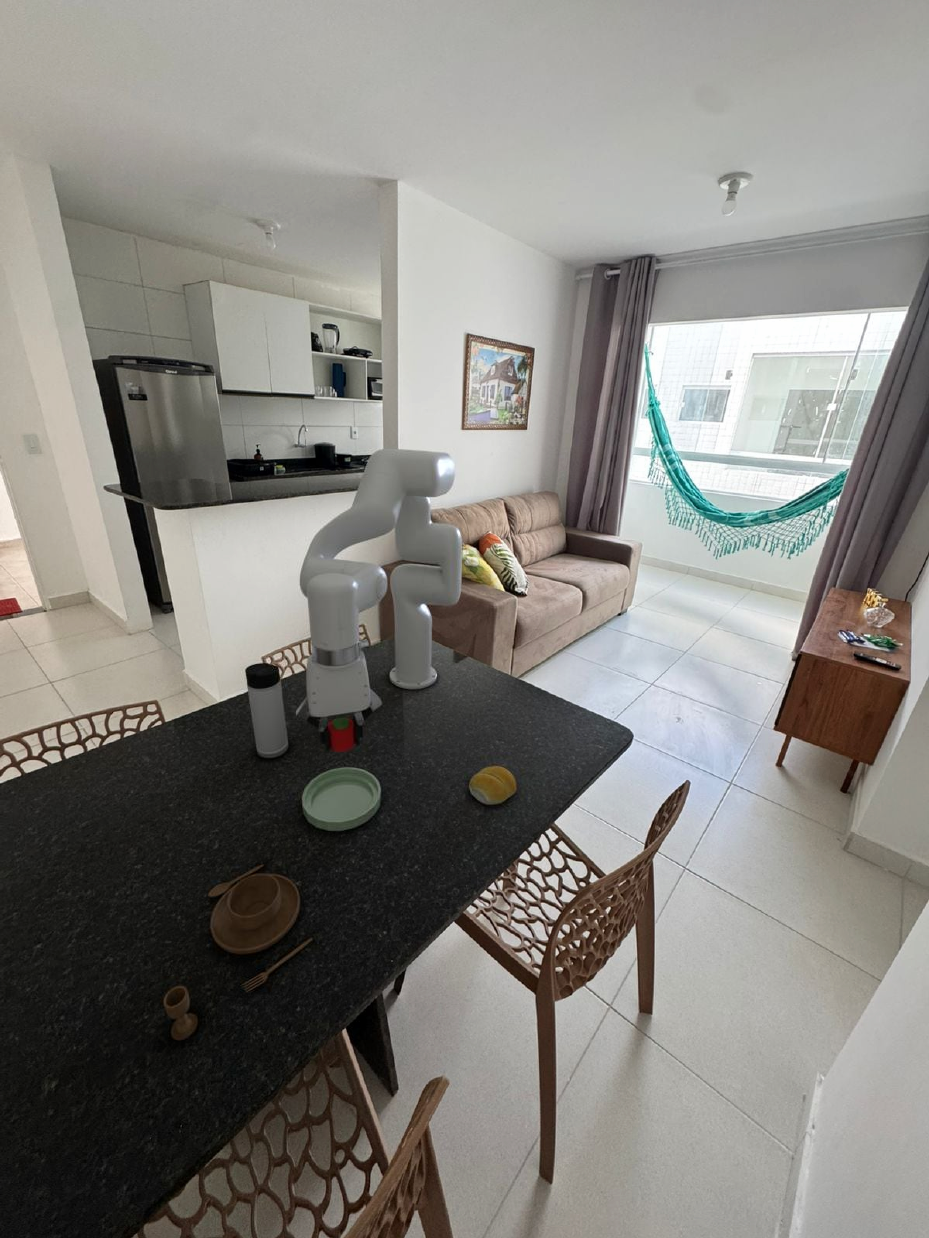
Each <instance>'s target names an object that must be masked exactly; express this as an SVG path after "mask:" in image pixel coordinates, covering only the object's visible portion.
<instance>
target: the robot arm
mask: <svg viewBox="0 0 929 1238" xmlns="http://www.w3.org/2000/svg"><path fill="white" fill-rule="evenodd" d="M455 477H456V467H455V462H454V460H453V458H452V457H451V455H450V454H449V453H447V452H443V451H430V450H416V449H403V448H383V449H377V450H376V451H375V452H373V453H372V454H371V455H370V456H369V458H368V460H367V462H366V466H365V468H364V471H363V474H362V476H361V479H360V482H359V485H358V488H357V490H356V493H355V496H354V499H353V501H352V505H351V506H350V508H348V509H346V510H344V511H343V512H341V513H340V514H339V515H337V516H335V517H334V518H332V520H329V522H328V523H326V524H325V525H324V526H323V527H322V528H320V529H319V530H318V532H316V534H315V535H314V536H313V538H312V540H311V542H310V544H309V546H308V549H307V552H306V554H305V557H304V559H303V563H302V565H301V568H300V574H299V587H300V590H301V594H302V595H303V597H305V598H306V599H307V609H308V619H309V633H310V645H311V654H310V655H309V656H307V661H306V668H305V669H306V671H305V686H306V689H305V690H306V696H305V698H304V699H303V700H302V702H301V703H300V705H299V706H298V708H297V709H296V711H295V716H296V719H298V720H301V721H304V722H307V723H308V724H309V725H311V726H312V727H314V728H316V729H317V731H318V732H319V739H320V745H324V747H325V751H326V752H327V751H330V750H331V748H330V738H329V729H328V724H329V723H328V719H329V717H330V716H337V715H344V714H351V713H353V715H354V716H352V718H351V720H352V721H353V723H354V735H355V745H354V746H360V744H361V741H360V740H361V739H362V738H363V737H364V731H363V730H364V729H363V725H364V724H365V721H366V720H367V719H368V718H369V717H370V716H371V715H372V714H373V712H374V711H376V710H377V709H378V708H380V707H381V706H382V705H383V702H382V700H381V697H380V696H378V695H377V694H376V692H375V691H373V690H372V688H371V687H370V679H369V672H368V668H367V667H368V666H367V661H366V657H365V653H364V651H363V650H365V649H369V648H370V643H369V639H361V637H360V620H359V614H360V613H362V612H365V611H366V610H369V609H371V608H373V607H375V606H376V605H378V604H379V603H380V602H381V601H382V599H383V598H385V595H387V594H386V593H387V591H388V576H387V574H386V572H385V570H384V569H383V568H382V567H381V566H379V565H377V564H375V563H371V562H367V561H365V562H364V561H353V560H348V559H337V558H336V557H337V556H338V555H339V554H340V553H341V552H342V551H344V550H346V549H347V548H349V547H352V546H354V545H356V544H360V543H363V542H368V541H370V540H374V539H377V538H379V537H382V536H385V535H387V534H389V533H391V532H392V531H393V530H394V542H395V543H394V544H395V551H396V554H397V557H399V558H400V559H401V560H403V561H407V562H413V563H403V564H400V565H398V566H396V567H395V568H394V569H393V570H392V572H391V574H390V579H389V580H390V581H389V582H390V583H389V585H390V591H391V595H392V601H393V602H392V603H393V610H394V611H393V612H394V659H395V660H394V661H395V662H394V664H395V665H394V667H393V668H392V669H391V670H390V672H389V680H390V682H391V683H392V684H393V685H395V686H396V687H398V688H402V689H404V690H405V689H406V690H421V689H425V688H428V687H429V686H431V685H433V684H434V683H435V682H436V681H437V677H438V673H437V671H436V669H435V668H434V667H433V666H432V646H433V645H432V643H433V640H432V639H433V618H432V613H431V611H430V609H429V607H428V606H427V605H430V606H431V605H432V606H441V607H442V606H443V607H452V606H456V605H457V603H458V602H459V600H460V597H461V593H462V575H463V574H462V573H463V571H462V569H463V538H462V533H461V531H460V529H458V527H457V526H456V525H452V524H448V523H439V522H433V521H432V518H431V517H432V515H431V511H432V510H431V507H432V506H431V505H432V504H431V500H430V498H437V497H440V496H443V495H446V494H447V493H449V491H450V490H451V489H452V487H453V485H454V482H455ZM414 562H415V563H414ZM418 563H422V564H418ZM428 564H433V565H428ZM436 565H439V566H436ZM360 738H361V739H360Z"/></svg>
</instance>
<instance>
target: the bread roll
mask: <svg viewBox="0 0 929 1238" xmlns="http://www.w3.org/2000/svg"><path fill="white" fill-rule="evenodd" d="M468 789H469V792H470V794H471V796H472V797H474V798H475V799H476V800H477V801H479V802H480V803H482V804H484V805H489V806H491V805H499V804H502V803H503V802H506V800H507V799H508V798H510V797H512V796H513V795H514V794H515V793H516V792H517V782H516V778H515V776H514V774H512V772H510V770H508V769H506V768H505V767H504V766H498V765H493V766H487V767H484V768H482V769H481V770H479V771H478V772H477V773H476V774H474V775H473V776H472V777H471V778H470V781H469V784H468Z"/></svg>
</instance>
